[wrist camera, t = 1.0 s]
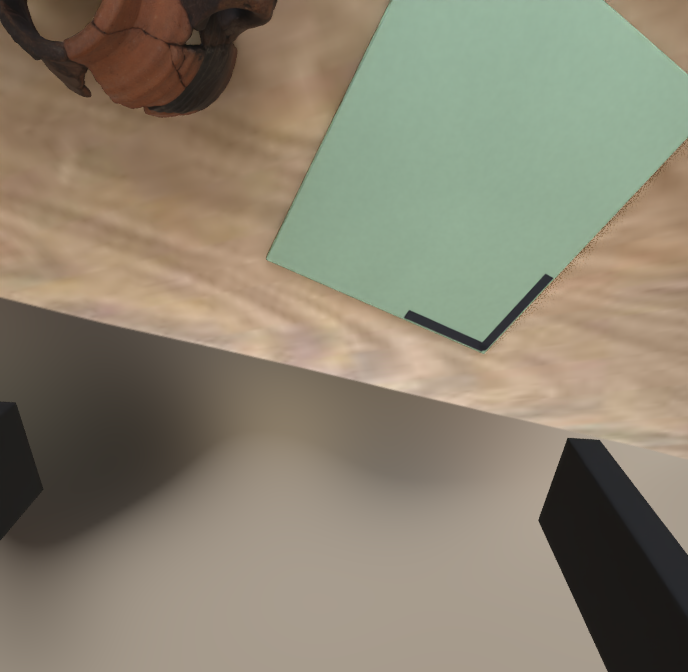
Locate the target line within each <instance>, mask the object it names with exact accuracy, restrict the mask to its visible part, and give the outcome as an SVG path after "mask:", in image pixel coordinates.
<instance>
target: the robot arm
mask: <svg viewBox="0 0 688 672" xmlns="http://www.w3.org/2000/svg"><path fill="white" fill-rule="evenodd" d="M42 490H43V487H42V484H41V480H40V477H39V474H38V471H37V468H36V465H35V462H34V458H33V455H32V452H31V449H30V446H29V443H28V439H27V436H26V433H25V430H24V427H23V424H22V420H21V417H20V414H19V411H18V408H17V405H16V403H14V402H0V540H1V539H2V538H3V536H5V534H6V533H7V532H8V531H9V530H10V528H11V527H12V526H13V525H14V524H15V522H16V521H17V520H18V519H19V517H21V515H22V514H23V513H24V512H25V510H26V509H27V508H28V507H29V506H30V505H31V503H32V502H33V501H34V500H35V499H36V498H37V496H38V495H39V494H40V493H41V491H42ZM539 523H540V525H541V527H542V530H543V532H544V534H545V536H546V538H547V540H548V543H549V545H550V547H551V549H552V551H553V553H554V556H555V558H556V560H557V562H558V564H559V567H560V568H561V571H562V573H563V575H564V577H565V580H566V582H567V584H568V586H569V588H570V591H571V593H572V595H573V597H574V599H575V601H576V603H577V606H578V608H579V610H580V612H581V614H582V617H583V619H584V621H585V623H586V625H587V628H588V630H589V632H590V634H591V636H592V638H593V641H594V643H595V645H596V647H597V649H598V651H599V654H600V656H601V658H602V660H603V662H604V665H605V667H606V669H607V671H608V672H688V555H687V553H686V552H685V551H684V550H683V548H682V547H681V546H680V544H679V543H678V542H677V540H676V539H675V538H674V536H673V535H672V534H671V533H670V531H669V530H668V529H667V527H666V526H665V525H664V523H663V522H662V521H661V520H660V518H659V517H658V516H657V514H656V513H655V512H654V510H653V509H652V508H651V506H650V505H649V504H648V503H647V501H646V500H645V499H644V497H643V496H642V495H641V494H640V492H639V491H638V489H637V488H636V487H635V486H634V484H633V483H632V482H631V480H630V479H629V478H628V477H627V475H626V474H625V472H624V471H623V470H622V469H621V467H620V466H619V465H618V464H617V462H616V461H615V460H614V458H613V457H612V456H611V454H610V453H609V452H608V451H607V449H606V448H605V446H604V445H603V444H602V443H601V441H600V440H592V439H577V438H567V441H566V444H565V447H564V450H563V452H562V455H561V458H560V461H559V464H558V466H557V469H556V472H555V475H554V478H553V481H552V483H551V486H550V489H549V492H548V494H547V498H546V500H545V503H544V506H543V508H542V511H541V514H540V517H539Z"/></svg>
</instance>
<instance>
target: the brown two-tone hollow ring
mask: <svg viewBox="0 0 688 672" xmlns="http://www.w3.org/2000/svg"><path fill="white" fill-rule="evenodd" d="M276 3H277V0H102V2H101V4H100V6H99V8H98V10H97V12H96V14H95V15H94V18H93V20H92V22H90V23H88V24H87V26H86V27H85V28H84V29H83V30H82V31H80V32H79V33H77V34H76V35H74V36H72V37H70V38H67V39H65V40H64V41H63V42H59V41H50V40H46V39H44V38H43V37H41V36H40V34H39V33H38V31H37V30H36V28H35V26H34V24H33V21H32V19H31V16H30V12H29V9H28V6H27V0H0V21H1V23H2V25H3V26H4V28H5V29H6V30H7V32H8V33H9V34H10V35H11V37H12V38H13V40H14V41H15V42H16V43H18V44H19V45H20V46H21V47H22V49H24V50H25V51H26V52H27V53H28V54H30V55H31V56H32V57H33V59H35V60H40V59H41V60H42V61H43V62H44V63H45V65H46V66H47V67H48V69H49V70H50V71H51V72H53V73H54V74H55V75H56V76H57V77H58V78H59V79H60V80H61V81H62V82H63V83H64V84H65V85H66V86H67V87H68V88H69V89H70V90H72V91H74V92H75V93H77V94H79V95H81V96H83V97H91V92H90V90H89V89H88V88H87V87H86V86H85V85H84V84H85V81H84V79H85V73H86V72H87V69H89V70H90V71H91V72H92V74H93V76H94V78H95V80H96V81H97V82H98V83H99V84H100V85H101V87H102V89H103V90H104V92H105V93H106V94H107V95H108V96H109V97H110V99H111V100H112V101H113V102H114V103H117V104H121V105H123V106H126V107H129V108H131V109H135V108H140V107H144V111H145V113H146V114H148V115H152V116H156V117H162V118H163V117H174V116H178V115H189V114H192V113H196V112H198V111H200V110H203V109H205V108H206V107H208V106H209V105H210V104H212V103H213V102H214V101H215V100H216V99H217V98H218V97H219V96H220V94H221V93H222V92H223V90H224V89H225V88H226V86H227V84H228V83H229V81H230V78H231V76H232V72H233V69H234V65H235V61H236V56H237V48H236V47H235V46H234V44H233V43H232V41H234V40H235V39H236V38H237V37H238V36H239V35H240V34H241V33H242V32H244V31H245V30H247V29H249V28H254V27H258V26H261V25H264V24H266V23H267V22H269V21H270V19H271V17H272V14H273V10H274V9H275V6H276ZM193 28H194V29H195V30H197V31H199V34H200V38H201V44H200V45H191V44H190V45H186V44H185V43H186V41H187V40H188V39H189V38H190V37H191V35H192V30H193Z"/></svg>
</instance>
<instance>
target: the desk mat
mask: <svg viewBox="0 0 688 672" xmlns="http://www.w3.org/2000/svg"><path fill="white" fill-rule="evenodd" d="M687 138H688V74H687V73H685V72H684V71H683V70H682V69H681V68H680V67H679V66H677V65H676V64H675V63H674V62H673V61H672V60H671V59H670V58H668V57H667V56H666V55H665V54H664V53H663V52H662V51H660V50H659V49H658V48H657V47H656V46H655V45H654V44H652V43H651V42H650V41H649V40H648V39H647V38H646V37H645V36H643V35H642V34H641V33H640V32H639V31H638V30H637V29H635V28H634V27H633V26H632V25H631V24H630V23H629V22H628V21H626V20H625V19H624V18H623V17H622V16H621V15H620V14H618V13H617V12H616V11H615V10H614V9H613V8H612V7H610V6H609V5H608V4H607V3H606V2H605V1H604V0H390V2H389V4H388V6H387V8H386V11H385V13H384V15H383V17H382V19H381V21H380V23H379V25H378V27H377V29H376V31H375V33H374V35H373V37H372V39H371V42H370V44H369V46H368V48H367V50H366V52H365V54H364V56H363V58H362V60H361V62H360V64H359V66H358V68H357V70H356V73H355V75H354V77H353V79H352V81H351V83H350V85H349V87H348V89H347V91H346V93H345V95H344V97H343V99H342V101H341V104H340V106H339V108H338V110H337V112H336V114H335V116H334V118H333V120H332V122H331V124H330V126H329V128H328V130H327V132H326V135H325V137H324V139H323V141H322V143H321V145H320V147H319V149H318V151H317V153H316V155H315V157H314V159H313V161H312V163H311V166H310V168H309V170H308V172H307V174H306V176H305V178H304V180H303V182H302V184H301V186H300V188H299V190H298V192H297V194H296V197H295V199H294V201H293V203H292V205H291V207H290V209H289V211H288V213H287V215H286V217H285V219H284V221H283V223H282V225H281V228H280V230H279V232H278V234H277V236H276V238H275V240H274V242H273V244H272V246H271V248H270V250H269V252H268V254H267V258H266V260H268V261H270V262H272V263H275V264H277V265H279V266H282V267H284V268H286V269H289V270H291V271H293V272H296V273H298V274H300V275H302V276H305V277H307V278H309V279H312V280H314V281H316V282H319V283H321V284H323V285H326V286H328V287H330V288H332V289H335V290H337V291H339V292H342V293H344V294H346V295H349V296H351V297H353V298H356V299H358V300H360V301H363V302H365V303H367V304H369V305H372V306H374V307H376V308H379V309H381V310H383V311H386V312H388V313H390V314H393V315H395V316H397V317H399V318H402V319H404V320H406V321H409V322H411V323H413V324H416V325H418V326H420V327H423V328H425V329H427V330H429V331H432V332H434V333H436V334H439V335H441V336H443V337H446V338H448V339H450V340H453V341H455V342H457V343H460V344H462V345H464V346H466V347H469V348H471V349H473V350H476V351H478V352H480V353H483V354H484V353H485V352H486V351H487V350H488V349H489V348H490V347H491V346H492V345H493V344H494V342H495V341H496V340H497V339H498V338H499V337H500V336H501V335H502V334H503V333H504V332H505V331H506V330H507V329H508V328H509V327H510V325H511V324H512V323H513V322H514V321H515V320H516V319H517V318H518V317H519V316H520V315H521V314H522V313H523V312H524V311H525V310H526V308H527V307H528V306H529V305H530V304H531V303H532V302H533V301H534V300H535V299H536V298H537V297H538V296H539V295H540V294H541V293H542V292H543V290H544V289H545V288H546V287H547V286H548V285H549V284H550V283H551V282H552V281H553V280H554V279H555V278H556V277H557V276H558V275H559V273H560V272H561V271H562V270H563V269H564V268H565V267H566V266H567V265H568V264H569V263H570V262H571V261H572V260H573V259H574V258H575V256H576V255H577V254H578V253H579V252H580V251H581V250H582V249H583V248H584V247H585V246H586V245H587V244H588V243H589V242H590V241H591V240H592V238H593V237H594V236H595V235H596V234H597V233H598V232H599V231H600V230H601V229H602V228H603V227H604V226H605V225H606V224H607V223H608V221H609V220H610V219H611V218H612V217H613V216H614V215H615V214H616V213H617V212H618V211H619V210H620V209H621V208H622V207H623V206H624V204H625V203H626V202H627V201H628V200H629V199H630V198H631V197H632V196H633V195H634V194H635V193H636V192H637V191H638V190H639V189H640V187H641V186H642V185H643V184H644V183H645V182H646V181H647V180H648V179H649V178H650V177H651V176H652V175H653V174H654V173H655V172H656V171H657V169H658V168H659V167H660V166H661V165H662V164H663V163H664V162H665V161H666V160H667V159H668V158H669V157H670V156H671V155H672V154H673V152H674V151H675V150H676V149H677V148H678V147H679V146H680V145H681V144H682V143H683V142H684V141H685V140H686V139H687Z"/></svg>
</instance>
